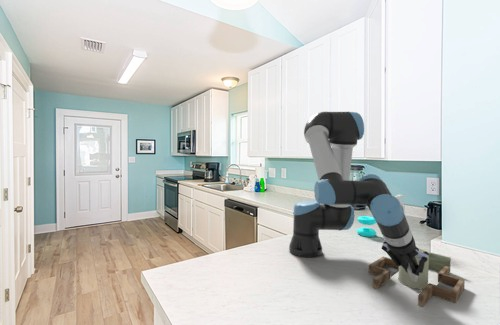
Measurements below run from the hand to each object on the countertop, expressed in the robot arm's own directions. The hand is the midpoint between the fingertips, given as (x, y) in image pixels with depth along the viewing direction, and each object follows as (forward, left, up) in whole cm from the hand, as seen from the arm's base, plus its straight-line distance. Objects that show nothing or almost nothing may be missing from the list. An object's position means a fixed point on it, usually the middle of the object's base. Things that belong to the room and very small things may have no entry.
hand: (415, 277), depth 86 cm
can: (+3, +4, -4) cm, 7 cm away
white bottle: (+26, +44, -4) cm, 51 cm away
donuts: (+18, +59, -4) cm, 62 cm away
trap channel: (+4, +6, -4) cm, 8 cm away
